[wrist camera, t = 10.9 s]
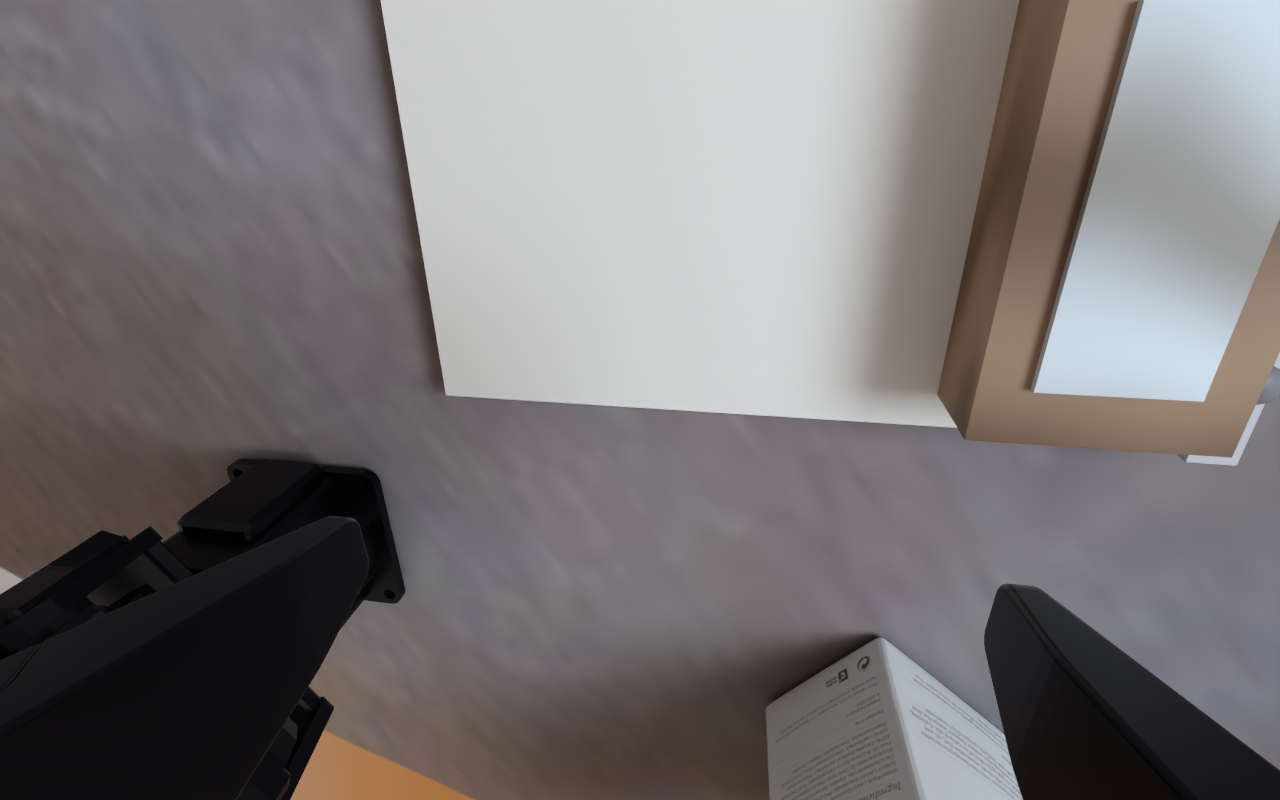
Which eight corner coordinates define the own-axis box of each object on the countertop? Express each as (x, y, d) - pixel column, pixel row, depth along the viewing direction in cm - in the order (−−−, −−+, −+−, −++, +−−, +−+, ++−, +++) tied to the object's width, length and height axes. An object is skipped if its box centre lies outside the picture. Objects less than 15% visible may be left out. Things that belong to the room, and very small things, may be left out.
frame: (1164, 407, 17) (1237, 461, 15) (937, 394, 18) (967, 443, 16) (1350, -76, 13) (1507, -125, 10) (1031, -58, 14) (1096, -98, 11)
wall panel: (1221, 432, 18) (1284, 477, 16) (455, 386, 22) (422, 417, 20) (1467, -131, 13) (1617, -181, 10) (386, -58, 17) (328, -83, 14)
